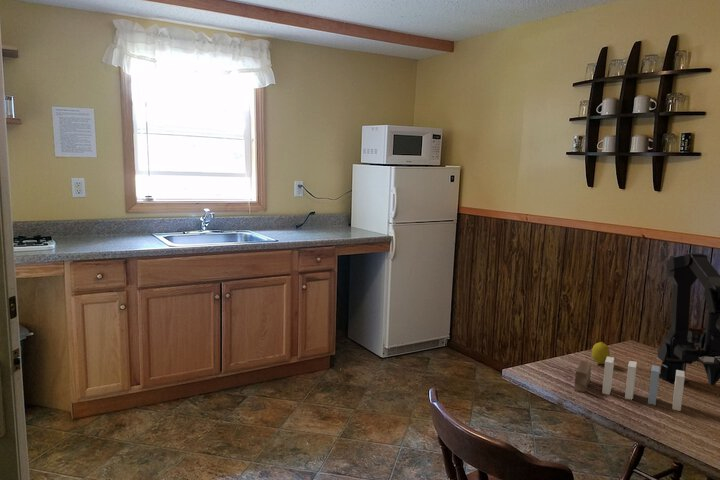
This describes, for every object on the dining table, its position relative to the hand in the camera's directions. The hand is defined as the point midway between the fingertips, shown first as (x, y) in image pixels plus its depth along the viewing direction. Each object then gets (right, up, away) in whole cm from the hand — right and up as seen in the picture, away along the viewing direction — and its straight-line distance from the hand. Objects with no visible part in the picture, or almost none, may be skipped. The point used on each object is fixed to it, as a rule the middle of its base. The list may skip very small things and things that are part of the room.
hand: (711, 384), depth 141 cm
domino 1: (-22, -6, +14) cm, 27 cm away
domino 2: (-17, -7, +11) cm, 21 cm away
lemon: (-14, -3, +35) cm, 38 cm away
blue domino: (-12, -7, +8) cm, 16 cm away
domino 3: (-7, -8, +5) cm, 11 cm away
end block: (-28, -5, +18) cm, 34 cm away
